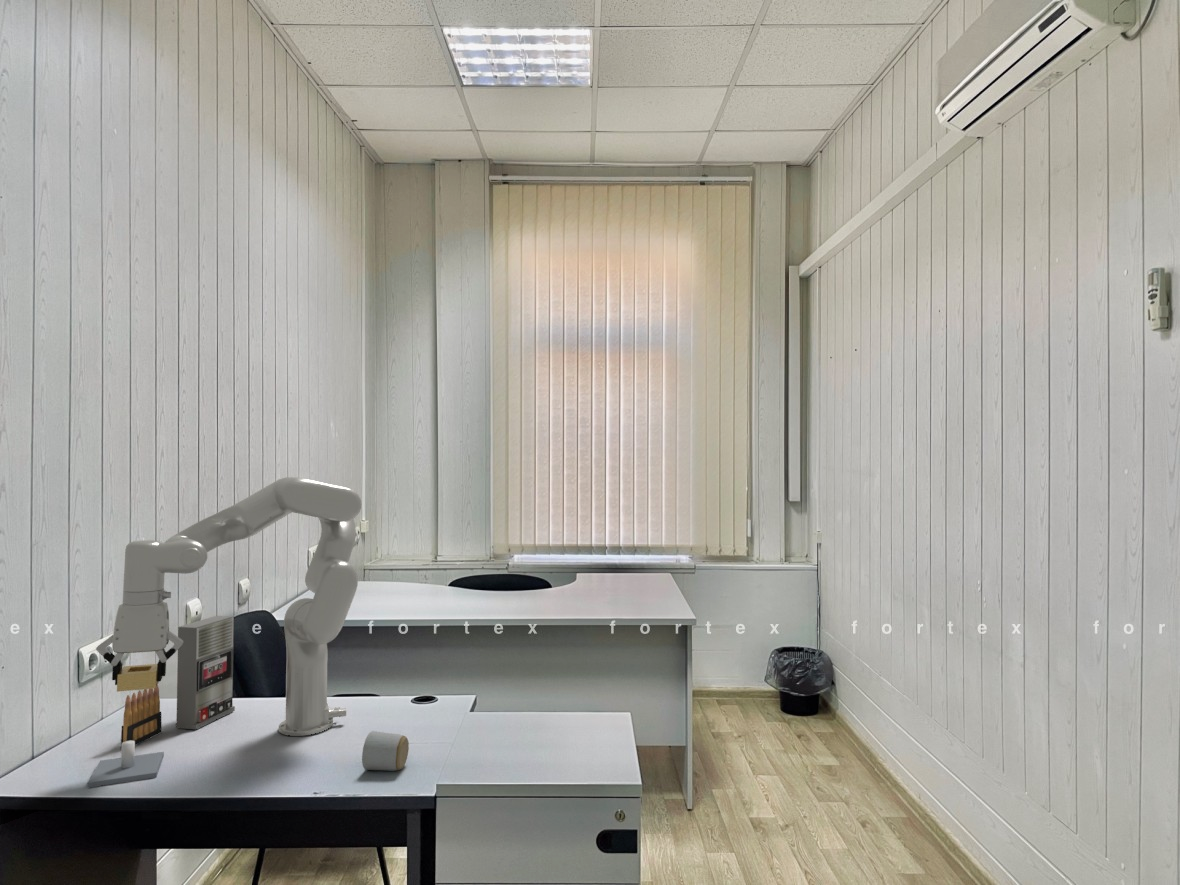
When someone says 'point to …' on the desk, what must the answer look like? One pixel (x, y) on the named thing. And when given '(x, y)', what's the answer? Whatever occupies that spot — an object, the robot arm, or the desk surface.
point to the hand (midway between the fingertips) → (139, 680)
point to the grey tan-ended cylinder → (385, 751)
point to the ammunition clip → (141, 716)
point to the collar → (137, 677)
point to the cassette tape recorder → (205, 671)
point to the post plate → (128, 774)
